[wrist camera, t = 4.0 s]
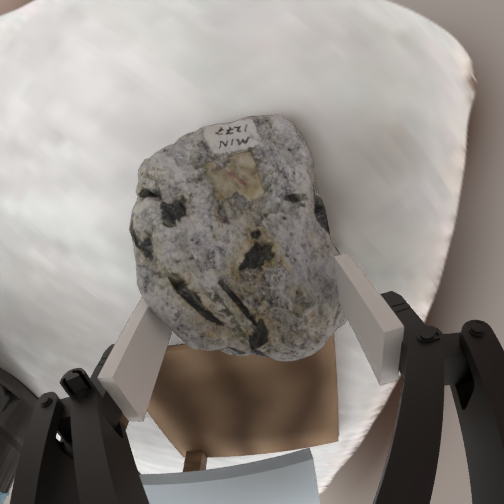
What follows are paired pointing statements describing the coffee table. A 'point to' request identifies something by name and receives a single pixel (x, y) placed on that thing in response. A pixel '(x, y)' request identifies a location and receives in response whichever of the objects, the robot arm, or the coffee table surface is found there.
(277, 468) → the trapdoor
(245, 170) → the rock
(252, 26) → the coffee table surface
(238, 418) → the frame
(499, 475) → the robot arm
